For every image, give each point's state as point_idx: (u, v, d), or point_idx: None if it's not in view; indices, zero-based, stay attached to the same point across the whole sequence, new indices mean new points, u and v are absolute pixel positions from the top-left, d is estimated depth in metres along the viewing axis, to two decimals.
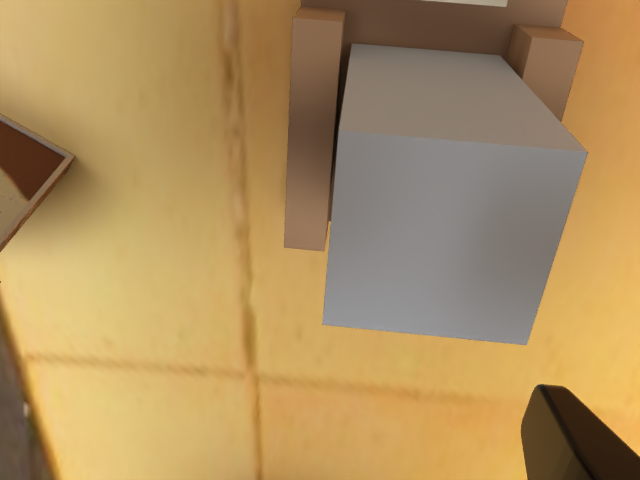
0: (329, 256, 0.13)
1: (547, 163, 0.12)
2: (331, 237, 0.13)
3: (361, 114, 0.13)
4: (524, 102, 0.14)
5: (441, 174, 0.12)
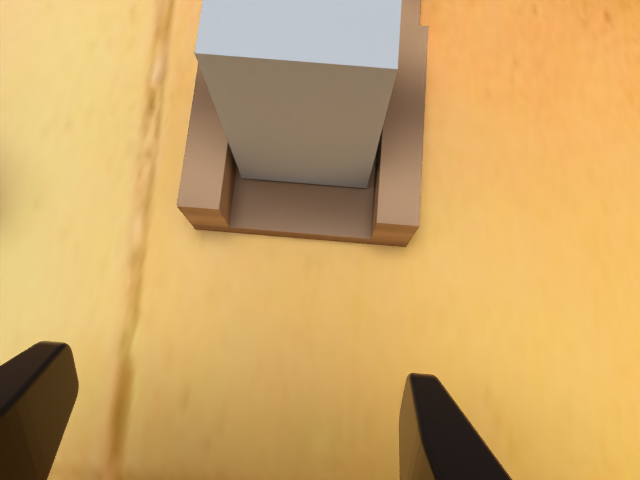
0: None
1: None
2: None
3: None
4: None
5: None
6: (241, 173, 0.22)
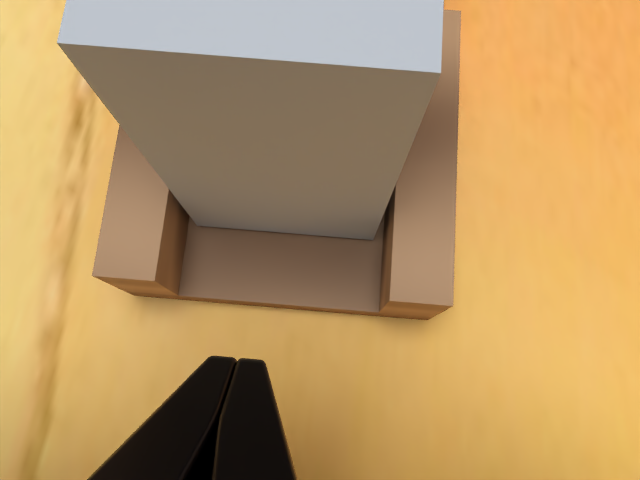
0: None
1: None
2: None
3: None
4: None
5: None
6: (195, 220, 0.16)
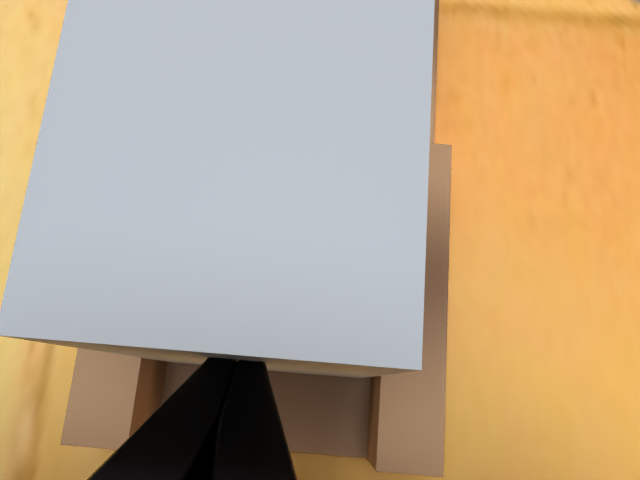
0: (32, 176, 0.07)
1: (381, 14, 0.08)
2: (41, 138, 0.07)
3: None
4: None
5: (226, 31, 0.08)
6: (173, 362, 0.15)
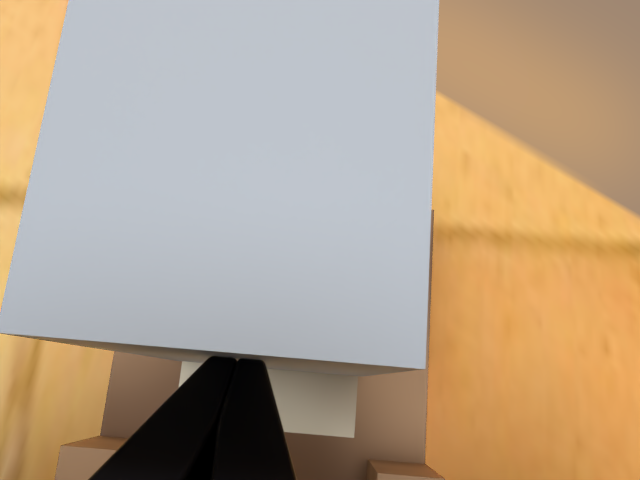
0: (33, 173, 0.07)
1: (385, 10, 0.08)
2: (42, 135, 0.07)
3: None
4: None
5: (229, 27, 0.08)
6: None
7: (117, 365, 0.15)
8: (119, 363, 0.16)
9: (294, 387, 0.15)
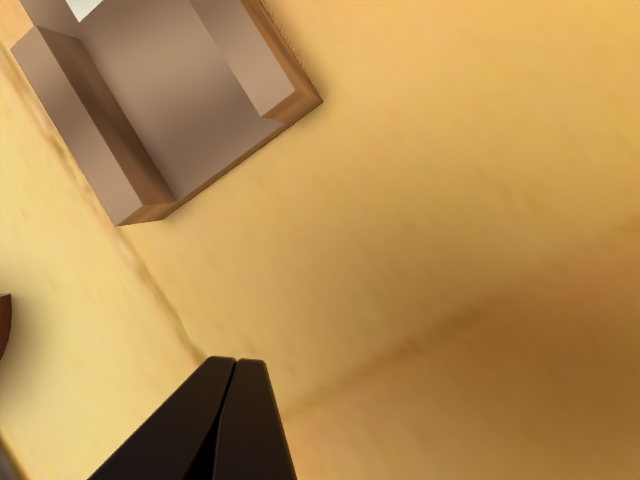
0: None
1: None
2: None
3: None
4: None
5: None
6: None
7: (36, 22, 0.24)
8: (36, 21, 0.24)
9: None
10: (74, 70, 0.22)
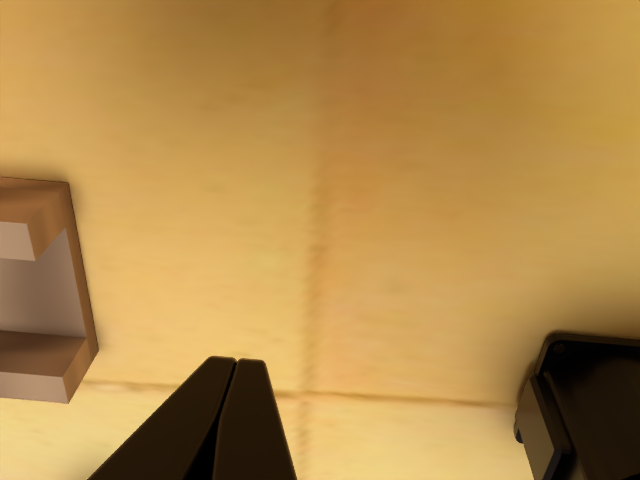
0: None
1: None
2: None
3: None
4: None
5: None
6: None
7: None
8: None
9: None
10: None
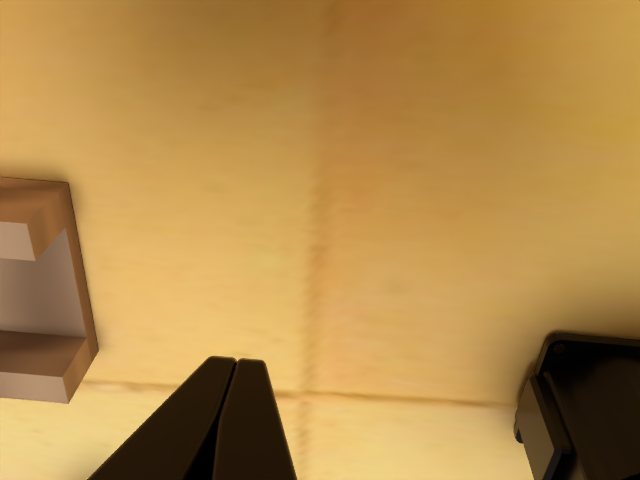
0: None
1: None
2: None
3: None
4: None
5: None
6: None
7: None
8: None
9: None
10: None
